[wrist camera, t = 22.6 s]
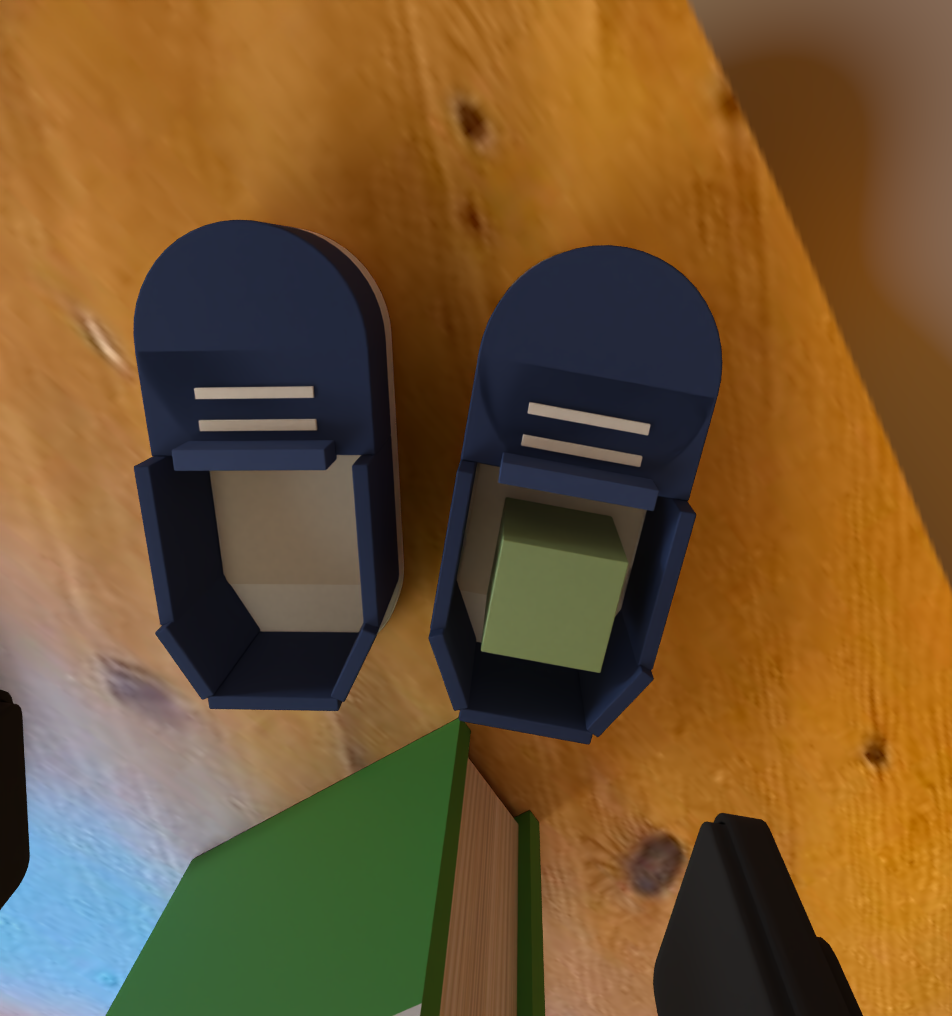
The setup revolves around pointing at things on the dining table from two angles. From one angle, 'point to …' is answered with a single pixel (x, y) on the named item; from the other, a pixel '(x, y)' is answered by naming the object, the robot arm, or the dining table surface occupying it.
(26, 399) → the dining table surface
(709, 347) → the sneaker
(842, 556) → the dining table surface
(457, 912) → the hardback book
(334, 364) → the sneaker
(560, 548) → the green block
